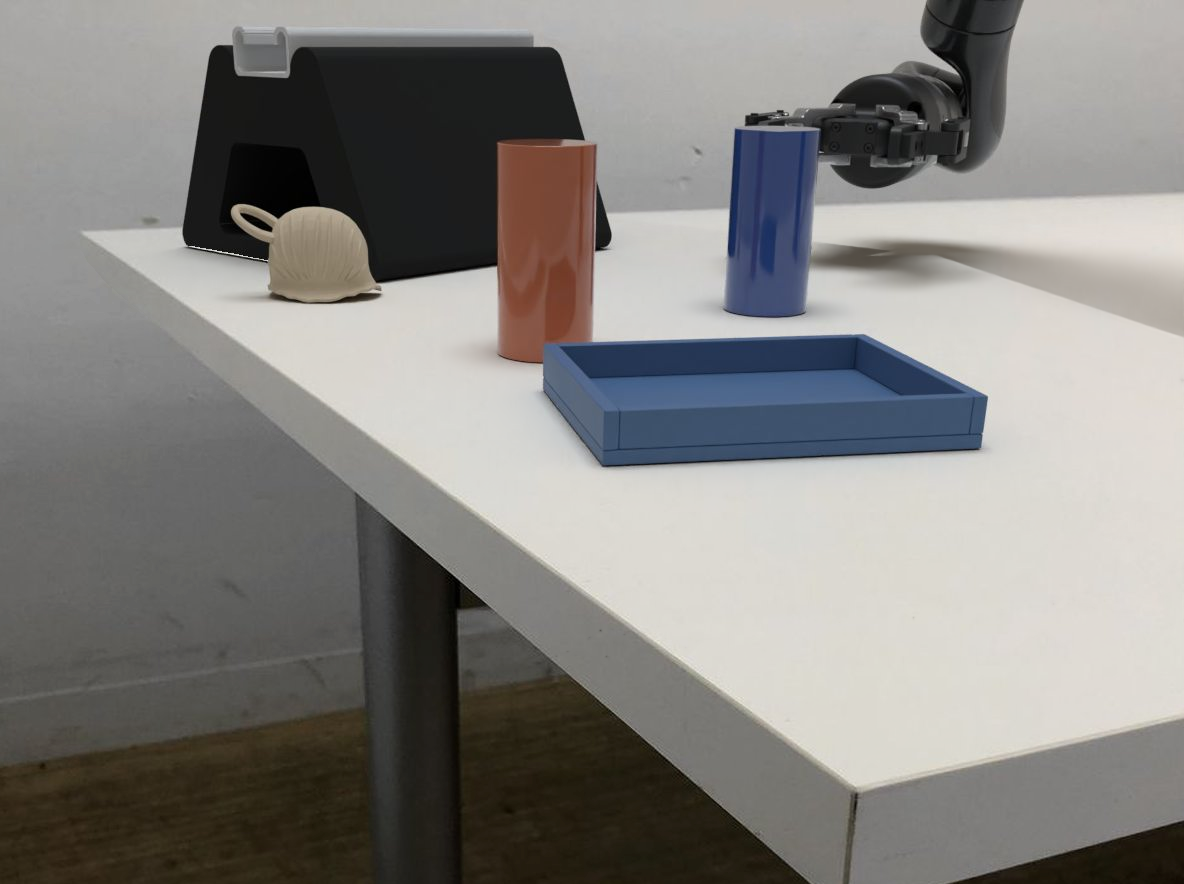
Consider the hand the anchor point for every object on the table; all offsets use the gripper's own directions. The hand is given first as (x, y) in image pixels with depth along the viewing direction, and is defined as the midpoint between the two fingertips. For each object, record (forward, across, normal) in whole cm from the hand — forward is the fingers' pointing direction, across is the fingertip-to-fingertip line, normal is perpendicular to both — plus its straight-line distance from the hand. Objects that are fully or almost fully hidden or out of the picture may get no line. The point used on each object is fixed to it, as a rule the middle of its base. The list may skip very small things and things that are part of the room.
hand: (826, 143), depth 87 cm
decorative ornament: (+20, -26, +9) cm, 34 cm away
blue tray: (+35, +7, +8) cm, 37 cm away
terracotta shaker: (+28, -6, +8) cm, 29 cm away
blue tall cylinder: (+11, 0, +8) cm, 14 cm away
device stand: (0, -32, +9) cm, 33 cm away
